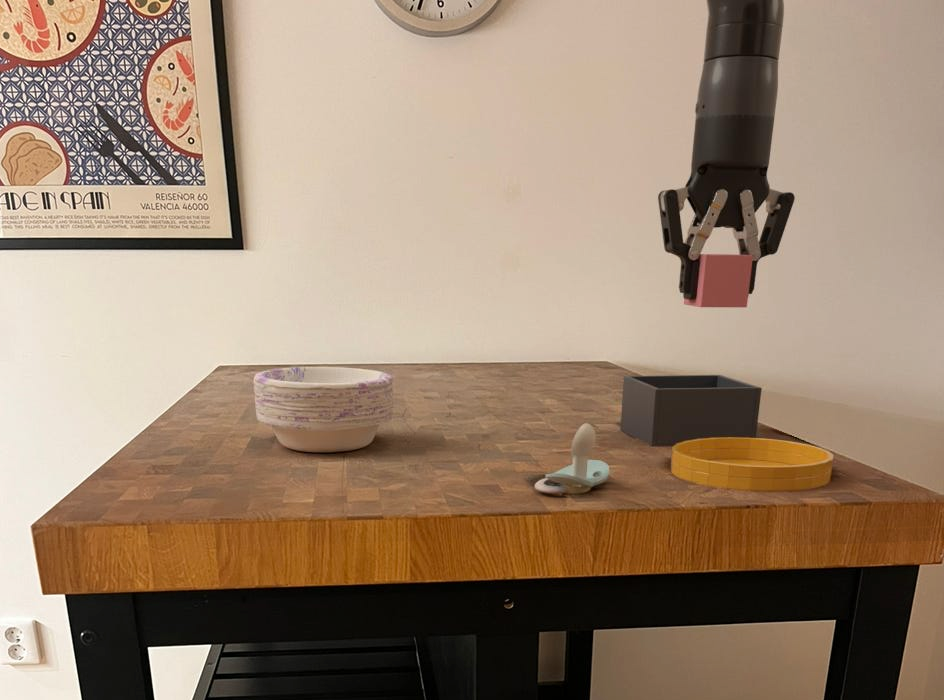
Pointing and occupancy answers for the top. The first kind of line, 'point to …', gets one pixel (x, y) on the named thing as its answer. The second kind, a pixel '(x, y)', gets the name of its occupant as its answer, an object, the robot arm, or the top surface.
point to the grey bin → (688, 408)
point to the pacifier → (577, 467)
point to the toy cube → (723, 281)
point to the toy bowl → (751, 464)
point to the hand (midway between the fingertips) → (715, 298)
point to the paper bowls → (323, 406)
